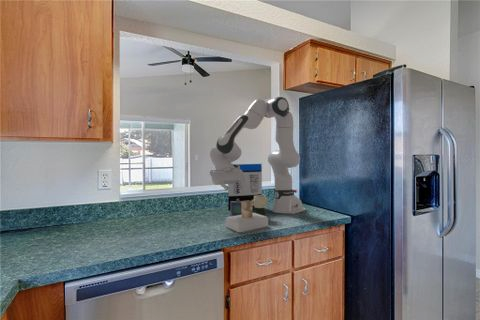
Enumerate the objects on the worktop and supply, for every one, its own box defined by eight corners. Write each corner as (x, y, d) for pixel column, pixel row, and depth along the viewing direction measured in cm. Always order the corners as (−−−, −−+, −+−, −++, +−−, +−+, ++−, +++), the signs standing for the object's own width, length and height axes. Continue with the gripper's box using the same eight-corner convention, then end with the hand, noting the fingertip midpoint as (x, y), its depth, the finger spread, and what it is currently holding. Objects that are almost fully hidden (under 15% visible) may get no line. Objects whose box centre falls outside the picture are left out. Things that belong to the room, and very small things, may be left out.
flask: (229, 216, 160) (229, 198, 159) (231, 215, 162) (231, 197, 162) (244, 218, 156) (243, 199, 155) (246, 217, 158) (245, 198, 158)
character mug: (265, 216, 160) (265, 194, 160) (271, 218, 154) (271, 196, 153) (248, 218, 155) (248, 195, 155) (254, 221, 149) (254, 197, 149)
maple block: (247, 215, 141) (247, 200, 140) (252, 217, 137) (252, 201, 137) (241, 216, 138) (241, 201, 138) (246, 218, 135) (245, 202, 135)
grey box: (253, 221, 148) (253, 212, 148) (268, 226, 138) (268, 216, 138) (225, 226, 138) (225, 217, 138) (239, 232, 128) (238, 222, 128)
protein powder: (264, 208, 182) (264, 164, 181) (230, 211, 174) (230, 164, 173) (259, 205, 191) (258, 163, 190) (226, 208, 183) (225, 164, 182)
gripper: (210, 166, 147) (219, 186, 139) (241, 165, 158) (251, 183, 151) (206, 174, 150) (215, 194, 143) (237, 172, 162) (246, 190, 154)
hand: (234, 188), depth 147 cm, fingers open, 8 cm apart
